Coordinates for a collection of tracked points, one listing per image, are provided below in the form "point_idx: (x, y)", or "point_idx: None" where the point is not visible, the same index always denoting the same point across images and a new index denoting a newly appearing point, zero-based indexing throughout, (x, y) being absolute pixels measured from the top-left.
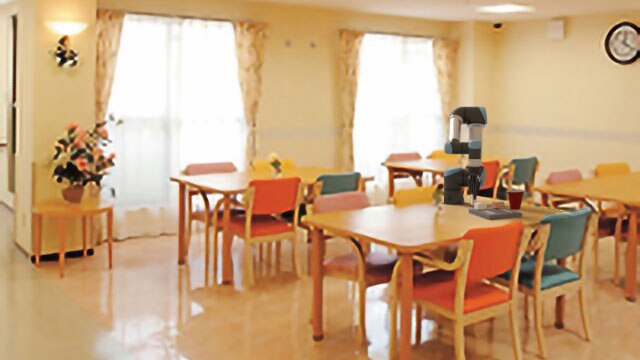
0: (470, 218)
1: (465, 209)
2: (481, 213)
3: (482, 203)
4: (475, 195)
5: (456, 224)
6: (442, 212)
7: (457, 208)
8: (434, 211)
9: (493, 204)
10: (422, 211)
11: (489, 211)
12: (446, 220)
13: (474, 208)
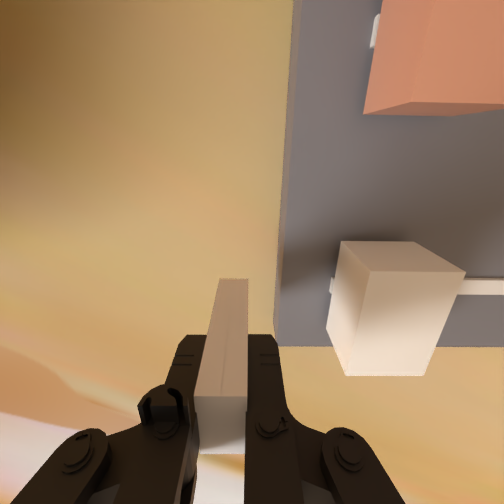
0: (432, 390)
1: (124, 272)
2: (473, 343)
3: (437, 327)
4: (275, 402)
5: (490, 483)
6: None
7: (67, 305)
8: None
9: (429, 109)
10: None
11: (485, 260)
12: (393, 482)
13: (328, 329)
